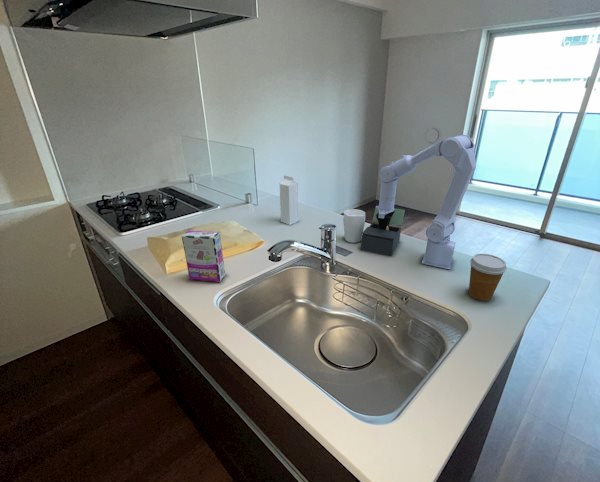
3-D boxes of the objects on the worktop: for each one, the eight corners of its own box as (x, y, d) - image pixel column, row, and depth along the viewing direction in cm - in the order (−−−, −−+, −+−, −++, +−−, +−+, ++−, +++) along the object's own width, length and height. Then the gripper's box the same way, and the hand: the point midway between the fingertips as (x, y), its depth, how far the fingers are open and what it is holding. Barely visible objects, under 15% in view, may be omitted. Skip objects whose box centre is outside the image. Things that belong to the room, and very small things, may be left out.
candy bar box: (226, 275, 110) (220, 231, 103) (220, 282, 106) (214, 237, 99) (195, 272, 112) (188, 229, 105) (188, 280, 108) (180, 235, 101)
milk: (289, 225, 151) (288, 179, 141) (280, 221, 155) (278, 176, 145) (298, 221, 155) (297, 176, 145) (289, 218, 159) (288, 174, 149)
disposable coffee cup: (460, 298, 97) (469, 263, 92) (464, 283, 104) (472, 250, 99) (496, 307, 92) (507, 272, 87) (498, 291, 100) (508, 257, 95)
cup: (357, 246, 130) (359, 218, 125) (338, 240, 135) (339, 213, 130) (367, 238, 136) (369, 211, 131) (348, 233, 141) (350, 207, 136)
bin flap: (372, 221, 134) (372, 221, 135) (401, 225, 129) (401, 226, 130) (376, 205, 135) (376, 206, 136) (405, 209, 130) (405, 210, 131)
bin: (370, 236, 138) (372, 220, 135) (399, 242, 133) (401, 225, 130) (360, 250, 127) (362, 232, 123) (391, 256, 121) (393, 238, 118)
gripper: (381, 190, 131) (378, 221, 137) (371, 200, 120) (368, 234, 125) (399, 193, 128) (395, 224, 134) (391, 203, 117) (387, 237, 122)
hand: (383, 229), depth 129 cm, fingers closed on paper ball, 4 cm apart
